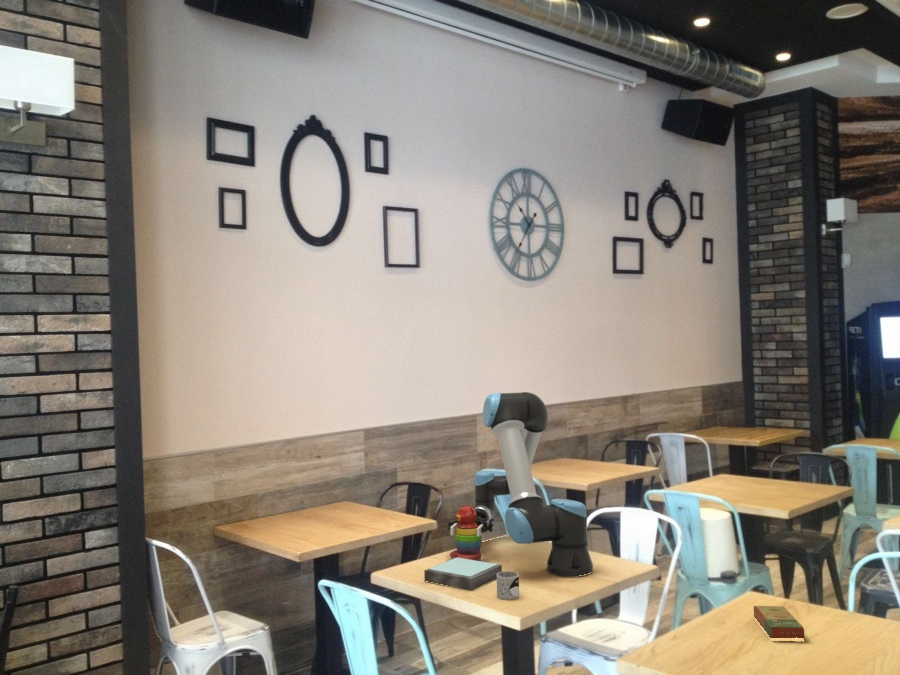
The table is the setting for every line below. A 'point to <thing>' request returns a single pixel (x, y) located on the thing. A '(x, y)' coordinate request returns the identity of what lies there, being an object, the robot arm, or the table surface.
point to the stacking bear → (467, 535)
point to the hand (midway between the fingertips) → (464, 531)
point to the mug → (508, 585)
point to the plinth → (463, 573)
